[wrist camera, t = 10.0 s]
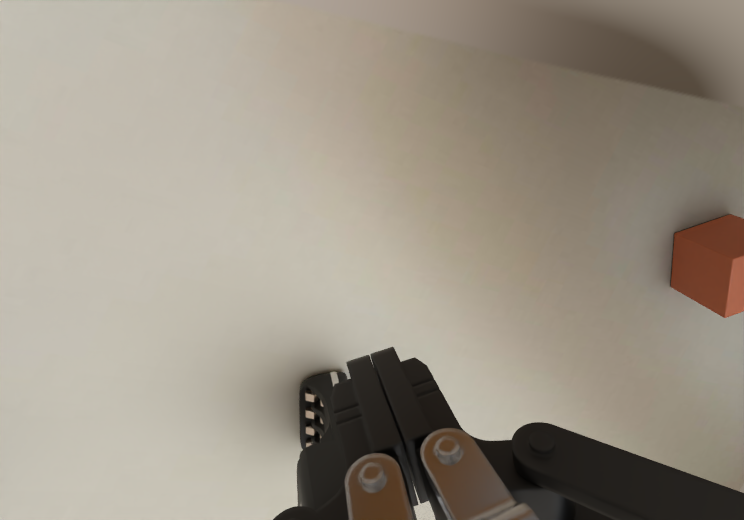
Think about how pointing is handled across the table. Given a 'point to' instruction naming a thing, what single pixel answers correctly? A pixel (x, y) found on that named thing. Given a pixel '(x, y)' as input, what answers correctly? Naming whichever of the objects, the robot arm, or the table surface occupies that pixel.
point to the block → (711, 264)
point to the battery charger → (319, 442)
